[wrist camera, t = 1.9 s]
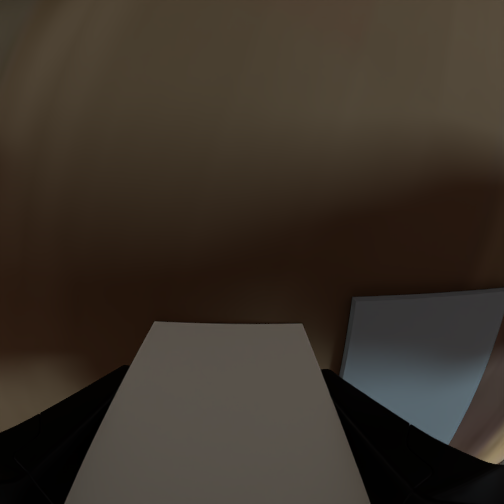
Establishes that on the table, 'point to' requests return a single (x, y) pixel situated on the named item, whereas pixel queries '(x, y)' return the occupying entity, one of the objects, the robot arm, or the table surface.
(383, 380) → the runner
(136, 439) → the tile
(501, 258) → the table surface
